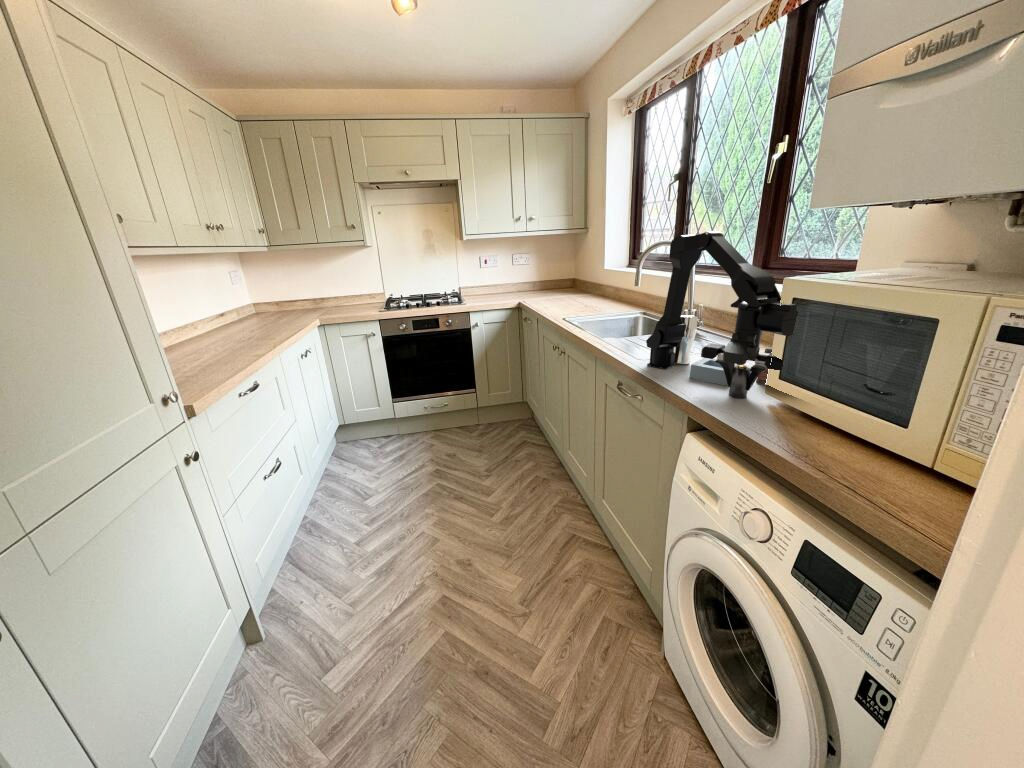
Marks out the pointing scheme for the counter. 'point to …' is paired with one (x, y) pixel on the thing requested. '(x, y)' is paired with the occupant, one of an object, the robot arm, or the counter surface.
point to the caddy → (708, 371)
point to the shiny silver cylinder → (686, 340)
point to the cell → (739, 381)
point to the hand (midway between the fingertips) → (738, 388)
